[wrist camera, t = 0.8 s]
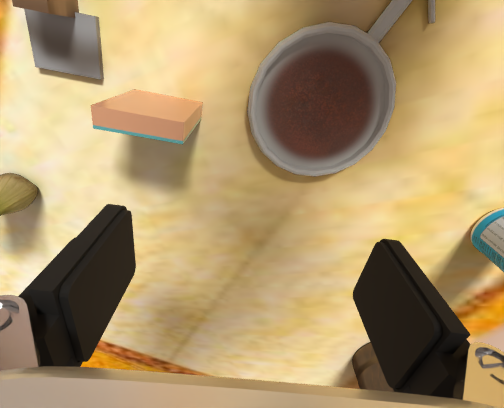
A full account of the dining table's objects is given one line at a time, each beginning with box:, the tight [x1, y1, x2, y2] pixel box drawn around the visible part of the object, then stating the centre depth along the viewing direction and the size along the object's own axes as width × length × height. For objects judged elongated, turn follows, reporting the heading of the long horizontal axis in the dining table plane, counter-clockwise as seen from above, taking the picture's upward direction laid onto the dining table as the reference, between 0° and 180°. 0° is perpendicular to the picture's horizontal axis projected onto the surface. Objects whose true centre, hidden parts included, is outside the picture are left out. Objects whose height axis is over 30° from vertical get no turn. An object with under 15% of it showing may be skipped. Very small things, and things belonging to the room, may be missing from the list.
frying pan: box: [247, 0, 435, 177], centre depth 30 cm, size 17×3×28 cm
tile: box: [91, 89, 203, 144], centre depth 29 cm, size 2×8×10 cm, turn 80°
